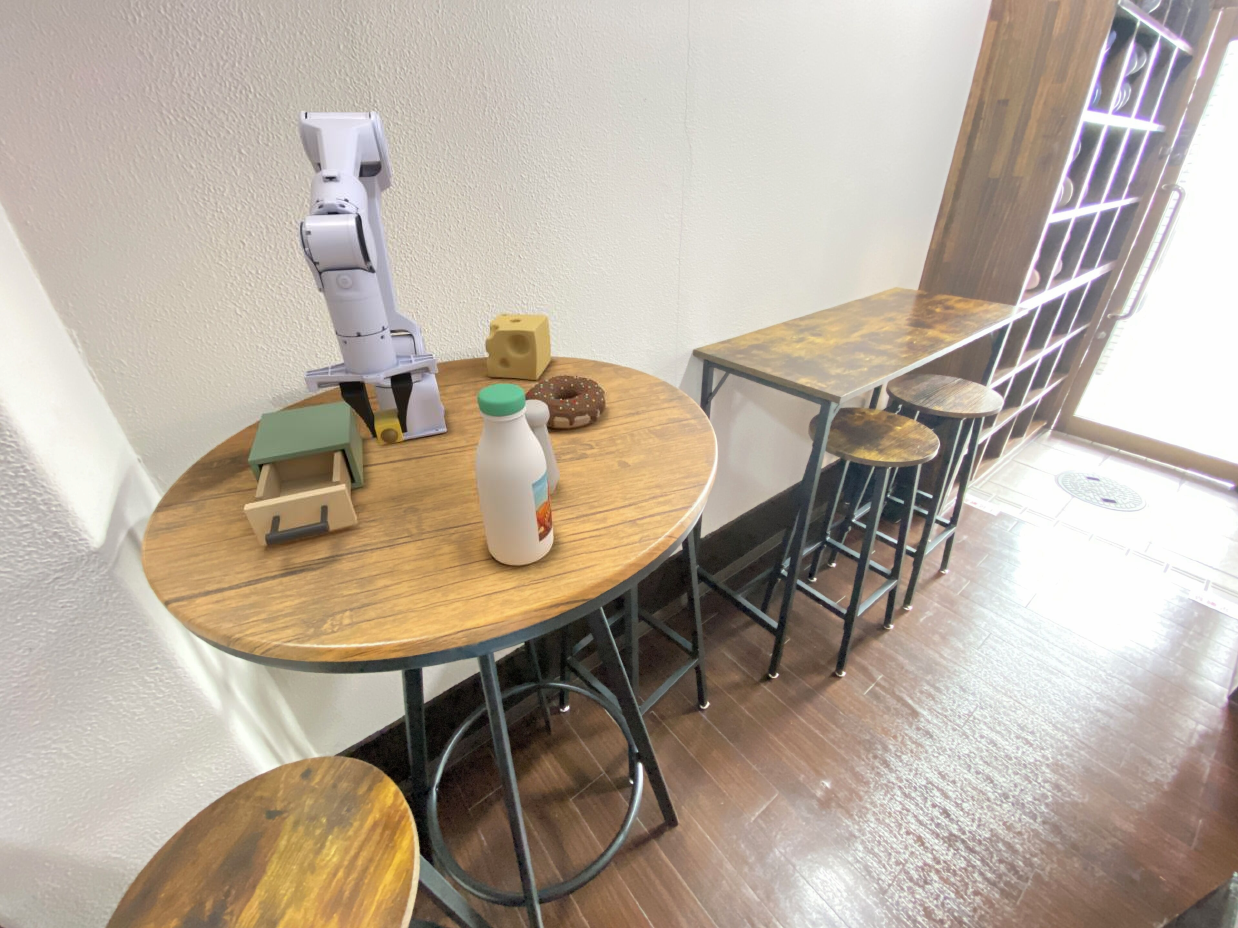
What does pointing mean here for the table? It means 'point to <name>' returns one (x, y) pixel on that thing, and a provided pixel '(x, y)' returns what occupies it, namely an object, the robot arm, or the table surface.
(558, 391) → the donut
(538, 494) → the milk bottle
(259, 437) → the cabinet
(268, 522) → the drawer
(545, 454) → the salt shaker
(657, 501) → the table surface
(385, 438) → the yellow knobbed cube
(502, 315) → the cheese
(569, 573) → the table surface
